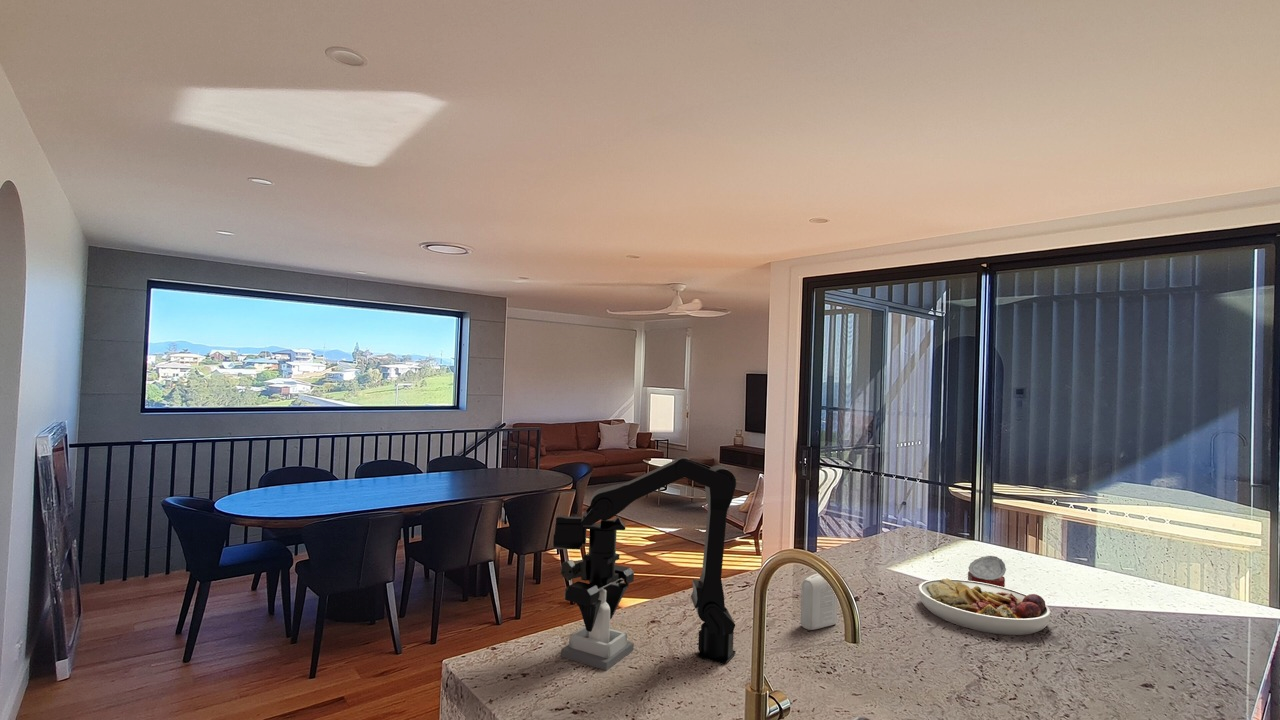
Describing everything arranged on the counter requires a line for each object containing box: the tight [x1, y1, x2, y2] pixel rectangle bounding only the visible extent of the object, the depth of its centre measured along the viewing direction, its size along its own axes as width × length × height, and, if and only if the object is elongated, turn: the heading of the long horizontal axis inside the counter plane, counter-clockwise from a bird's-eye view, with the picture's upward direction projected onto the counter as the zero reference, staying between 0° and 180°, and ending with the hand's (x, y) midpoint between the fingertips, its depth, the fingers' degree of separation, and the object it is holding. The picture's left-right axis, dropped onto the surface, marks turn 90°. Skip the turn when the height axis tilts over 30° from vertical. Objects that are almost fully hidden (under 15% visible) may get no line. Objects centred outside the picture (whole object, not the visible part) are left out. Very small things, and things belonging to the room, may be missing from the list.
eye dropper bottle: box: [589, 588, 611, 644], centre depth 127 cm, size 4×6×12 cm
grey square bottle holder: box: [560, 625, 635, 671], centre depth 127 cm, size 11×11×4 cm
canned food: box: [967, 555, 1007, 588], centre depth 185 cm, size 11×10×10 cm
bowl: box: [918, 578, 1051, 636], centre depth 159 cm, size 30×30×8 cm
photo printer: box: [800, 573, 839, 631], centre depth 148 cm, size 10×4×12 cm, turn 123°
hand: (599, 624), depth 127 cm, fingers closed on eye dropper bottle, 7 cm apart
